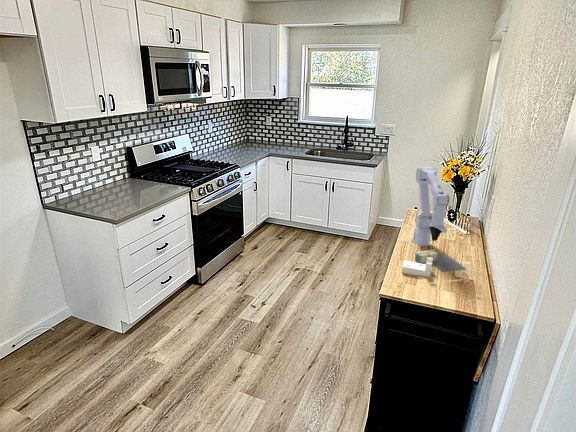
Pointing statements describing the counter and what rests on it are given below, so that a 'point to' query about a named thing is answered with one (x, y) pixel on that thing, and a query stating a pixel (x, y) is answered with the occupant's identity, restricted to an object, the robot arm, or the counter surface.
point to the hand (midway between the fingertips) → (434, 240)
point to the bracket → (417, 268)
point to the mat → (446, 263)
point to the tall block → (426, 255)
